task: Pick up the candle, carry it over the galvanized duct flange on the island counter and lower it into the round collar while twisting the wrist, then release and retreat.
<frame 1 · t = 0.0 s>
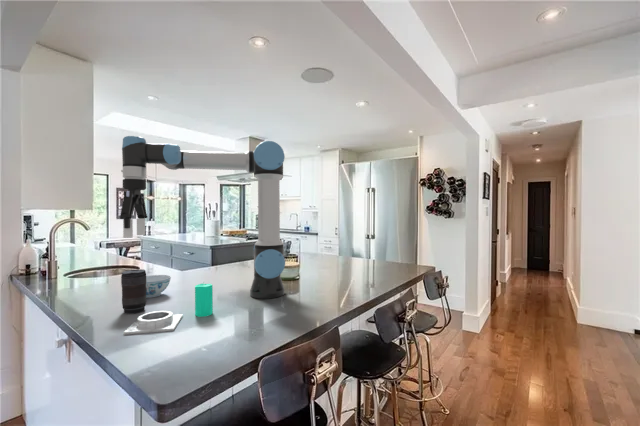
hand: (134, 236, 117), 28 cm above the countertop, fingers open, 13 cm apart
chinaware: (152, 296, 140), on the countertop
camera lens: (134, 311, 118), on the countertop
duct flange: (155, 324, 103), on the countertop
candle: (204, 314, 114), on the countertop
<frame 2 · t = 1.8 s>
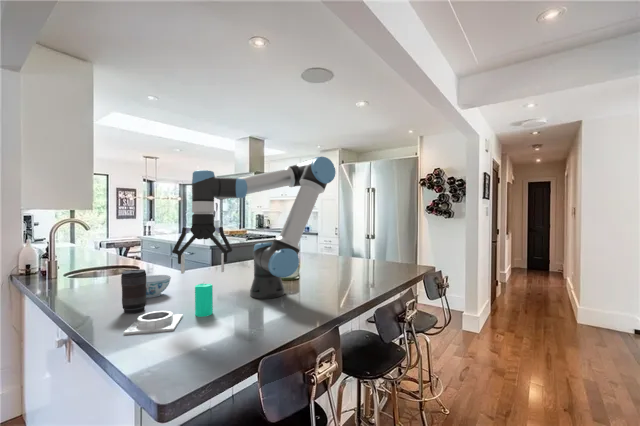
hand: (203, 272, 114), 15 cm above the countertop, fingers open, 13 cm apart
nothing on the countertop moved.
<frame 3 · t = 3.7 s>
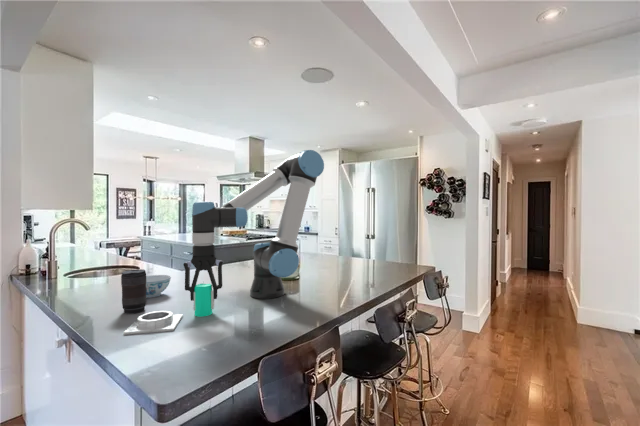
hand: (204, 308, 114), 2 cm above the countertop, fingers closed on candle, 5 cm apart
candle: (203, 314, 114), on the countertop, touching gripper
everything else where it was.
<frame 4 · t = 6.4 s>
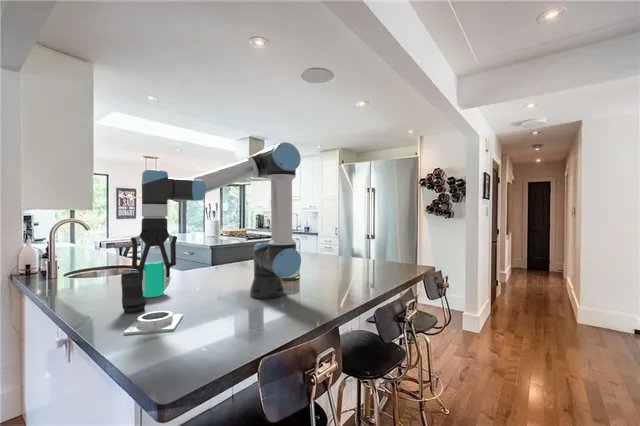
hand: (154, 288, 103), 12 cm above the countertop, fingers closed on candle, 5 cm apart
candle: (153, 295, 103), point 10 cm above the countertop, touching gripper
everything else where it was.
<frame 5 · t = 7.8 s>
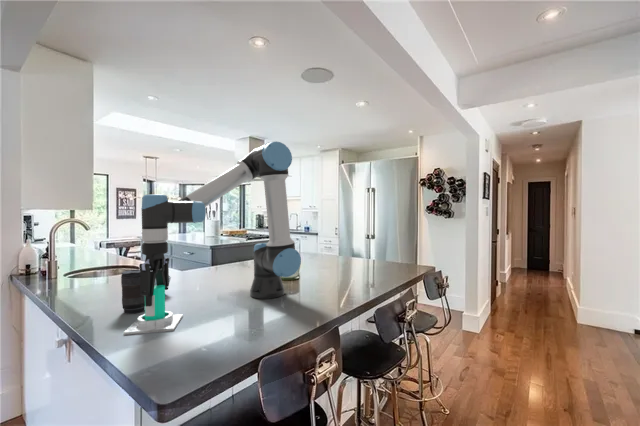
hand: (155, 312, 103), 4 cm above the countertop, fingers closed on candle, 5 cm apart
candle: (155, 319, 103), point 2 cm above the countertop, touching gripper
everything else where it was.
when the fingers open (4 cm above the countertop, at t = 8.8 s): candle drops 1 cm, resting on duct flange.
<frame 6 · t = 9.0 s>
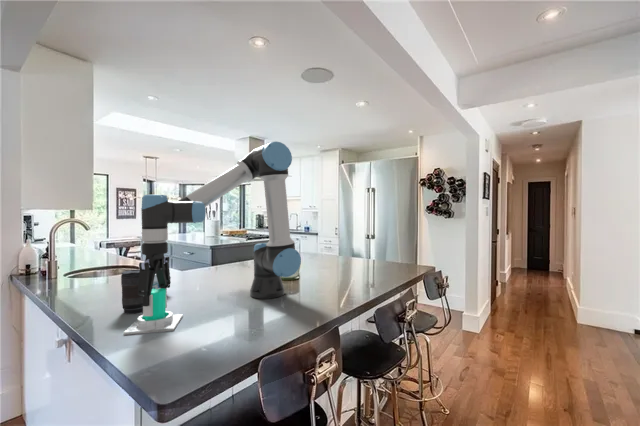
hand: (155, 311, 103), 4 cm above the countertop, fingers open, 8 cm apart
candle: (155, 322, 103), point 1 cm above the countertop, touching duct flange
everything else where it was.
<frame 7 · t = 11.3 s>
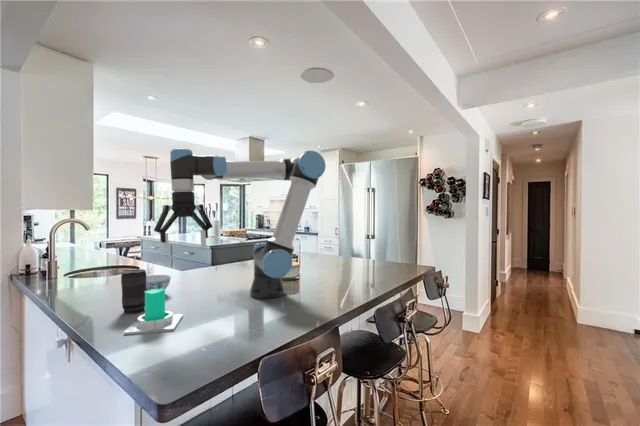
hand: (185, 249, 116), 23 cm above the countertop, fingers open, 13 cm apart
nothing on the countertop moved.
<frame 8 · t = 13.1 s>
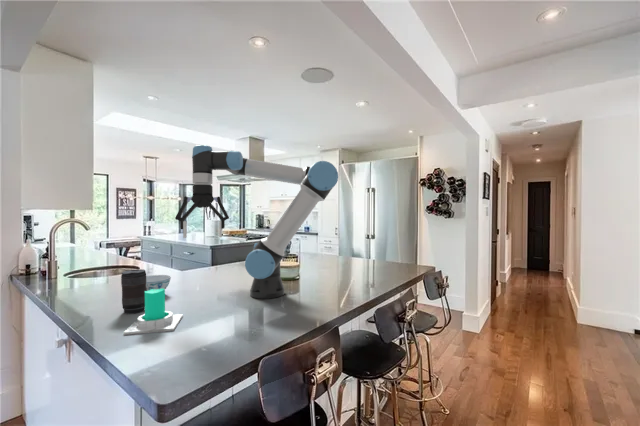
hand: (203, 237, 127), 27 cm above the countertop, fingers open, 13 cm apart
nothing on the countertop moved.
at the end: candle 0.2 cm off-centre on the duct flange, point 0.7 cm above the duct flange's base; candle tilted 0°; the gripper is holding nothing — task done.
